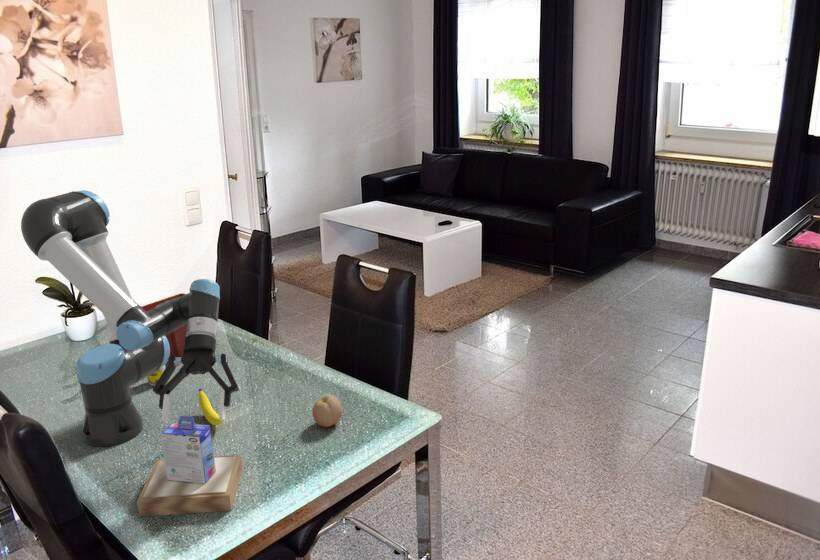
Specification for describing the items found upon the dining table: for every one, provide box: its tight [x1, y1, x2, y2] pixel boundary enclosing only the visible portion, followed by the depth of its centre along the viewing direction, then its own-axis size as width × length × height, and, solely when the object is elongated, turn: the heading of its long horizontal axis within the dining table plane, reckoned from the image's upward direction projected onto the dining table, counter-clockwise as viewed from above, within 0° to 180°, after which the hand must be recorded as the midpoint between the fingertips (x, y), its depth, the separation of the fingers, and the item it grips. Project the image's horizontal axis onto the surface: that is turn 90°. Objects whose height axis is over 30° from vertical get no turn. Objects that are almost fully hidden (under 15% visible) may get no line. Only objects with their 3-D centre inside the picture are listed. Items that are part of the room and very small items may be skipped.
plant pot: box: [141, 292, 187, 359], centre depth 235 cm, size 19×19×17 cm
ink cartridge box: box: [160, 415, 216, 483], centre depth 158 cm, size 10×6×14 cm, turn 79°
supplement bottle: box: [146, 364, 167, 386], centre depth 214 cm, size 6×6×10 cm
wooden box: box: [136, 454, 244, 517], centre depth 160 cm, size 20×16×4 cm
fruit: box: [311, 394, 343, 428], centre depth 187 cm, size 8×8×8 cm
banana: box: [198, 388, 224, 427], centre depth 190 cm, size 3×19×6 cm, turn 32°
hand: (193, 421), depth 166 cm, fingers open, 13 cm apart
